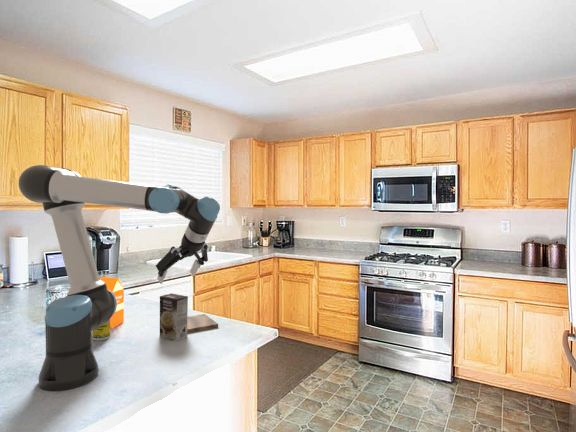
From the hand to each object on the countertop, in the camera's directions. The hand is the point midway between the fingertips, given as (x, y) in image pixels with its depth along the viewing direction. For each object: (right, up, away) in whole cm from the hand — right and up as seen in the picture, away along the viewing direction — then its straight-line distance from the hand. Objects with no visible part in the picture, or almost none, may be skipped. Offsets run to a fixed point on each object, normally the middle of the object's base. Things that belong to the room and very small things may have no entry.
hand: (176, 277), depth 136 cm
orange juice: (-35, -24, +21) cm, 48 cm away
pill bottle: (-30, -24, +4) cm, 39 cm away
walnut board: (+1, -24, +20) cm, 31 cm away
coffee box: (-3, -25, +6) cm, 26 cm away
